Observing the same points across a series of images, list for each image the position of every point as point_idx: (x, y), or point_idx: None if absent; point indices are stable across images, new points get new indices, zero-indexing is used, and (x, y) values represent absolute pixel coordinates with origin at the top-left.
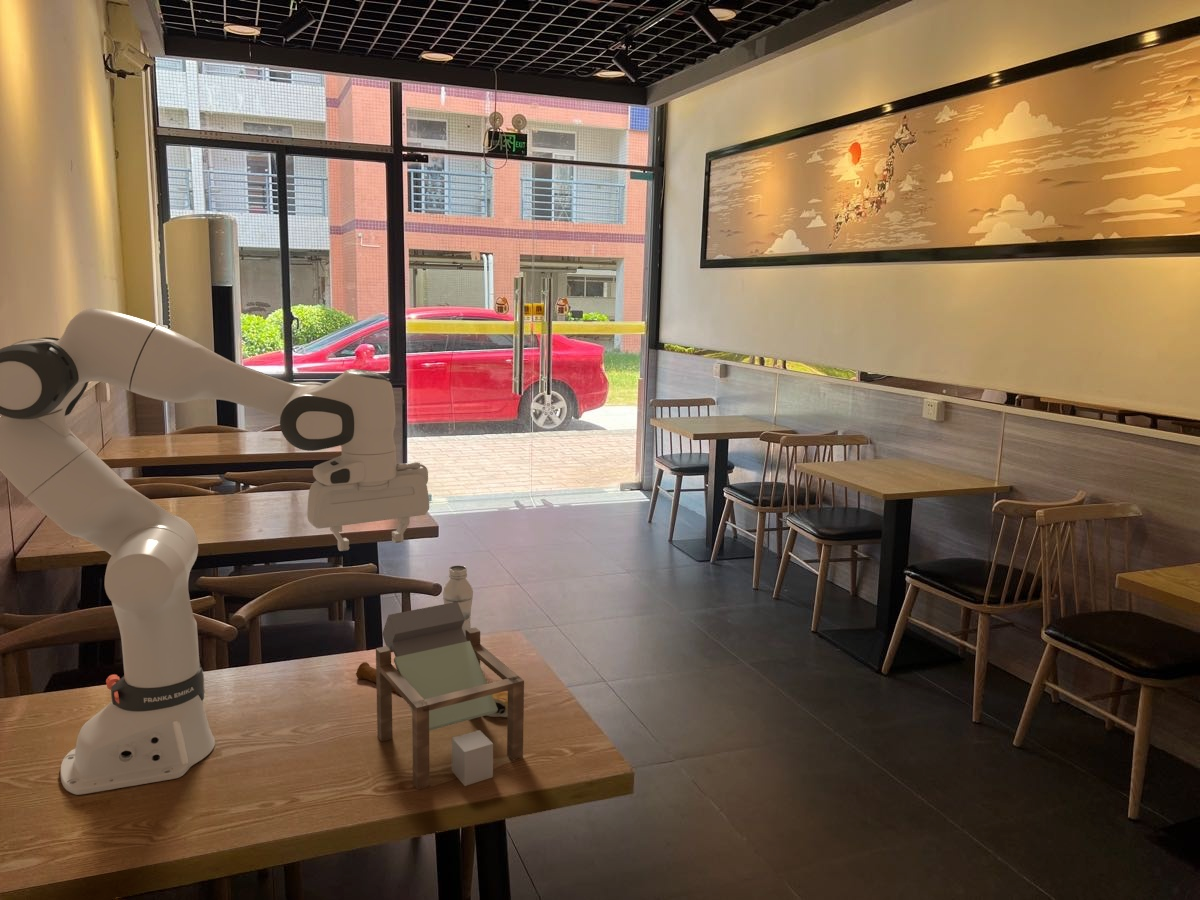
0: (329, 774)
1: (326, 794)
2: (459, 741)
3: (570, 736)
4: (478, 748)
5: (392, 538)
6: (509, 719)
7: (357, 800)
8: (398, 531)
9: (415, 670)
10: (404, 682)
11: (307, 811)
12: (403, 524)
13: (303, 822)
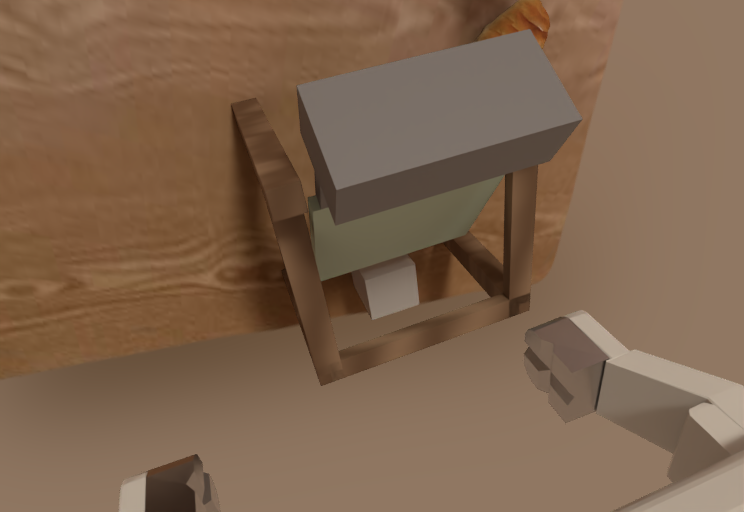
0: (132, 221)
1: (134, 277)
2: (373, 292)
3: (540, 190)
4: (394, 311)
5: (539, 345)
6: (468, 261)
7: (189, 298)
8: (604, 394)
9: (352, 222)
10: (315, 293)
11: (105, 314)
12: (672, 439)
13: (103, 337)
